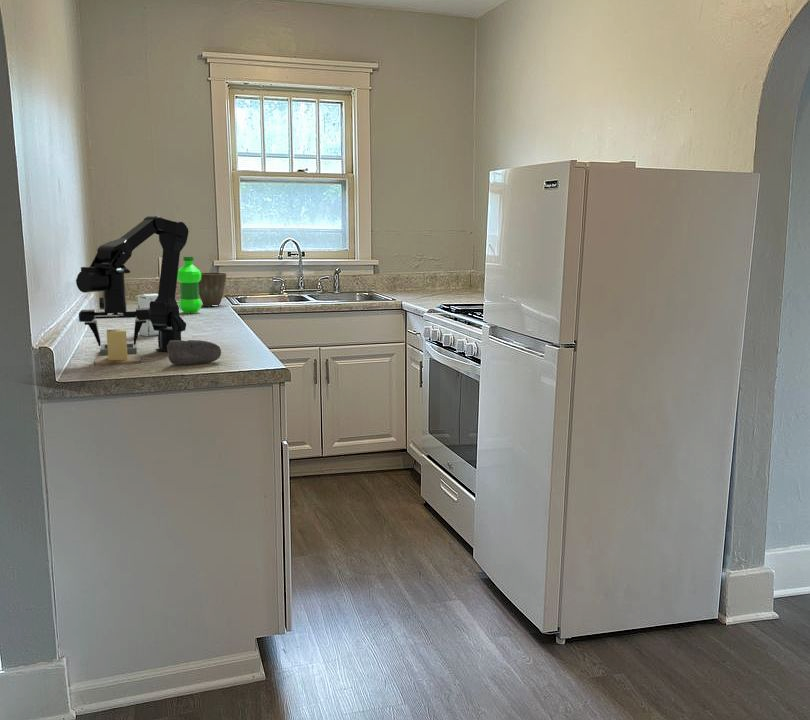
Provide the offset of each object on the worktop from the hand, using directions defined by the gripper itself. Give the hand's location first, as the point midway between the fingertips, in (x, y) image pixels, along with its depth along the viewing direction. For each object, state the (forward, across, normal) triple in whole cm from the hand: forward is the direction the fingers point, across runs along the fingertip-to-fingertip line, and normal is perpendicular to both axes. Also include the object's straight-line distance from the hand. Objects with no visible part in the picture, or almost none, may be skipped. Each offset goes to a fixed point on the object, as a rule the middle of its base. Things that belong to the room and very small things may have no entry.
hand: (117, 345), depth 209 cm
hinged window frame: (+4, 0, -19) cm, 20 cm away
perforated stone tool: (+5, -20, +11) cm, 23 cm away
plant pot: (+5, -40, -148) cm, 154 cm away
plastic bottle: (+5, -28, -120) cm, 124 cm away
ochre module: (+4, 0, 0) cm, 4 cm away
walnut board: (+4, 0, 0) cm, 4 cm away
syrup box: (+5, -10, -51) cm, 52 cm away
